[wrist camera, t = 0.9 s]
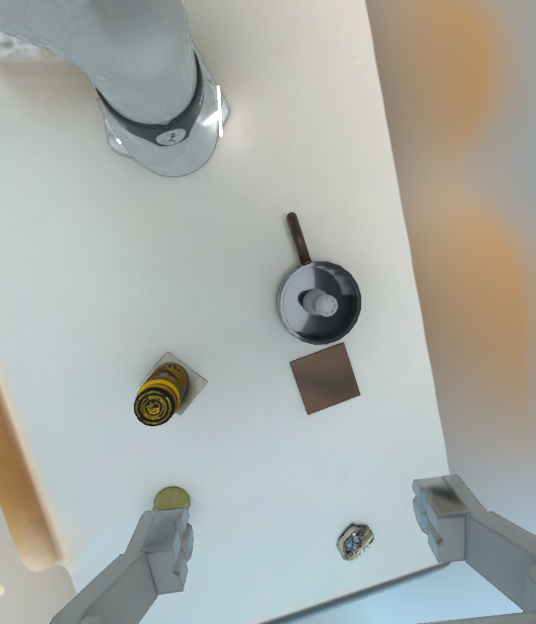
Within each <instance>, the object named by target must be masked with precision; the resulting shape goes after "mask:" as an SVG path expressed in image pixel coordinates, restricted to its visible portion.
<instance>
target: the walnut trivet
mask: <svg viewBox="0 0 536 624" xmlns="http://www.w3.org/2000/svg"><path fill="white" fill-rule="evenodd" d="M290 365H291V368H292V371H293V374H294V377H295V380H296V383H297V385H298V388H299V391H300V394H301V397H302V400H303V403H304V406H305V409H306V411H307V414H308V415H310V414H312V413H315V412H317V411H320V410H323V409H325V408H328V407H331V406H333V405H336V404H338V403H341V402H344V401H346V400H349V399H351V398H354V397H357V396H359V395H360V392H359V389H358V386H357V383H356V379H355V376H354V373H353V370H352V367H351V364H350V361H349V357H348V354H347V351H346V348H345V345H344V343H341V344H338V345H335V346H333V347H330V348H327V349H324V350H322V351H319V352H316V353H314V354H311V355H308V356H306V357H303V358H300V359H297V360H295V361H292V362H290Z"/></svg>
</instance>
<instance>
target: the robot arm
mask: <svg viewBox="0 0 536 624" xmlns="http://www.w3.org/2000/svg"><path fill="white" fill-rule="evenodd" d="M0 32H1V33H4V34H8V35H10V36H13V37H16V38H19V39H21V40H24V41H26V42H29V43H31V44H33V45H36V46H38V47H40V48H43V49H45V50H47V51H49V52H51V53H53V54H55V55H57V56H59V57H61V58H63V59H65V60H67V61H69V62H70V63H72V64H74V65H75V66H77V67H78V68H79V69H80V70H81V71H82V72H83V73H84V74H85V75H86V76H87V77H88V78H89V79H90V81H91V83H92V85H93V87H94V88H95V89H96V90H97V93H98V95H99V97H100V98H98V99H97V102H98V105H99V108H100V109H101V110H103V115H104V120H105V126H106V131H107V136H108V141H109V145H110V147H111V148H112V150H113V151H114V152H116V153H118V154H121V155H124V156H127V157H131V158H133V159H135V160H136V161H137V162H139V163H140V164H141V165H142V166H144V167H145V168H147V169H148V170H150V171H152V172H154V173H157V174H160V175H164V176H182V175H186V174H189V173H192V172H194V171H196V170H197V169H199V168H200V167H201V166H203V165H204V164H205V163H206V162H207V160H208V159H209V158H210V156H211V155H212V153H213V151H214V149H215V146H216V143H217V138H218V134H219V131H220V137H222V126H223V125H224V124H225V122H226V121H227V119H228V117H229V114H230V112H229V107H228V105H227V103H226V101H225V99H224V98H223V96H222V94H221V92H220V87H219V86H217V85H216V83H215V81H214V79H213V78H212V76H211V74H210V72H209V70H208V68H207V67H206V65H205V63H204V61H203V59H202V57H201V56H200V54H199V52H198V50H197V48H196V46H195V45H194V43H193V41H192V39H191V33H190V28H189V22H188V17H187V14H186V11H185V8H184V5H183V3H182V1H181V0H0ZM412 489H413V491H414V493H415V495H416V496H415V498H414V499H413V508H414V512H415V516H416V519H417V522H418V524H419V526H420V528H421V530H422V531H423V532H424V533H426V534H427V535H428V544H429V546H430V548H431V550H432V551H433V553H434V555H435V557H436V559H437V561H438V563H440V562H453V561H464V560H466V563H467V564H469V565H470V566H471V567H472V568H473V569H475V570H476V571H477V572H478V573H479V574H480V575H482V576H483V577H484V578H485V579H486V580H488V581H489V582H490V583H491V584H492V585H494V586H495V587H496V588H497V589H498V590H499V591H501V592H502V593H503V594H504V595H506V596H507V597H508V598H509V599H510V600H511V601H513V602H514V603H515V604H516V605H517V606H519V607H520V608H521V609H522V610H523V612H522V613H513V614H504V615H494V616H484V617H476V618H467V619H457V620H447V621H437V622H428V623H418V624H536V535H534V534H532V533H530V532H528V531H526V530H525V529H523V528H521V527H519V526H518V525H516V524H514V523H512V522H510V521H509V520H507V519H505V518H503V517H501V516H500V515H498V514H496V513H494V512H491V511H490V512H487V511H486V509H485V508H484V507H483V505H482V504H481V503H480V502H479V500H478V499H477V498H476V497H475V495H474V494H473V493H472V492H471V490H470V489H469V488H468V487H467V485H466V484H465V483H464V482H463V480H462V479H461V478H460V476H458V475H457V474H454V475H446V476H442V477H441V476H440V477H432V478H424V479H416V480H413V483H412ZM188 518H189V514H188V510H187V508H185V507H184V508H173V509H162V510H155V511H145V512H144V513H143V514H142V515H141V518H140V520H139V522H138V524H137V527H136V529H135V531H134V533H133V536H132V538H131V540H130V542H129V545H128V547H127V549H126V551H125V554H120V555H119V556H118V557H117V558H116V559H115V560H114V561H113V562H112V563H111V564H110V565H108V566H107V567H106V568H105V569H104V570H103V571H102V572H101V573H100V574H99V575H98V576H97V577H96V578H95V579H94V580H93V581H91V582H90V583H89V584H88V585H87V586H86V587H85V588H84V589H83V590H82V591H81V592H80V593H79V594H78V595H77V596H76V597H74V598H73V599H72V600H71V601H70V602H69V603H68V604H67V605H66V606H65V607H64V608H63V609H62V610H61V611H60V612H59V613H57V614H56V615H55V616H54V617H53V619H52V620H51V622H50V624H138V623H139V622H140V621H141V619H142V618H143V616H144V615H145V614H146V612H147V611H148V609H149V608H150V607H151V605H152V604H153V602H154V601H155V600H156V598H157V597H158V596H157V595H160V594H167V593H174V592H181V591H183V589H184V585H185V581H186V577H187V572H188V569H187V564H186V563H187V561H188V560H189V559H190V558H191V555H192V550H193V530H192V526H191V525H190V524H189V523H187V522H188Z"/></svg>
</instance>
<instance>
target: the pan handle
mask: <svg viewBox="0 0 536 624" xmlns="http://www.w3.org/2000/svg"><path fill="white" fill-rule="evenodd" d="M287 221H288V224H289V227H290V230H291V233H292V236H293V240H294V243H295V246H296V249H297V252H298V255H299V258H300V261H301V264H302V265H303V266H304V265H307V264H310V263H311V259H310V256H309V253H308V249H307V246H306V243H305V240H304V237H303V234H302V231H301V228H300V224H299V221H298V218H297V215H296V214H295V213H294V212H290V213H288V215H287Z"/></svg>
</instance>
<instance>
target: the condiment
mask: <svg viewBox="0 0 536 624" xmlns="http://www.w3.org/2000/svg"><path fill="white" fill-rule="evenodd" d="M207 383H208V382H207V381H206V380H204V379H203V378H202V377H200V376H199V375H197V374H196V373H195V372H193V371H192V370H191V369H190V368H188V367H187V366H186V365H184V364H183V363H182V362H180V361H179V360H178V359H177V358H175V357H174V356H173V355H171V354H170V353H168V352H167V353H166V354H165V355H164V356H163V357H162V359H161V360H160V361H159V362H158V364H157V365H156V366H155V367H154V369H153V370H152V371H151V372H150V373H149V375H148V376H147V377H146V378H145V380H144V381H143V382H142V383H141V384H140V386H141V388H140V389H139V391H138V393H137V398H136V400H135V403H134V413H135V415H136V416H137V418H138V420H139V421H140V422H142V423H143V424H145V425H148V426H158V425H162V424H164V423H166V422H167V421H168V420H169V419H170V418H171V417H172V415H173V414H174V413H175V412H176V413H178V414H179V415H181V414H182V413H183V412H184V410H185V409H186V408H187V407H188V406H189V404H190V403H191V402H192V401H193V399H194V398H195V397H196V396H197V395H198V393H199V392H200V391H201V390H202V389H203V387H204V386H205V385H206V384H207Z"/></svg>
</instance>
